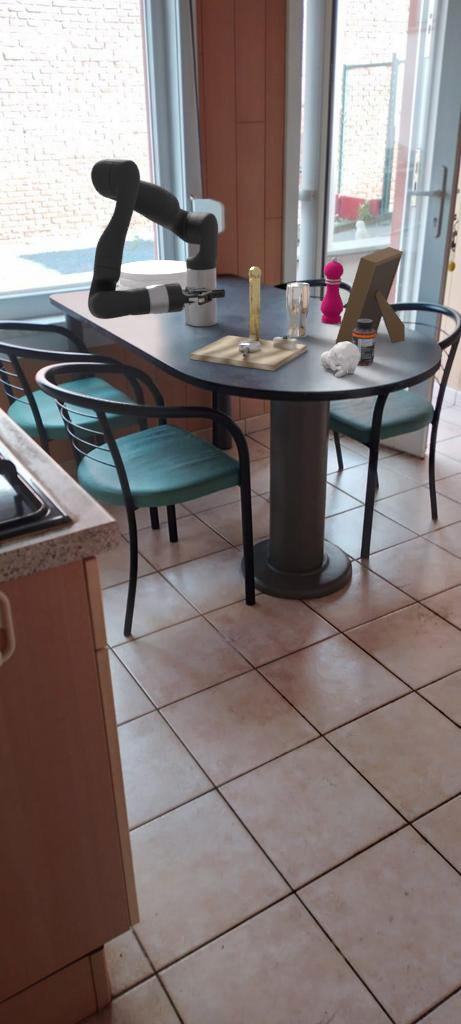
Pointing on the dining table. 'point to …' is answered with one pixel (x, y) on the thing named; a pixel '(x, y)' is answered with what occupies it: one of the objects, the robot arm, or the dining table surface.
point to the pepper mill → (332, 293)
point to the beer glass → (297, 308)
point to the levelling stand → (266, 358)
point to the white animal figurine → (341, 358)
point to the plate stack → (152, 274)
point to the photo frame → (373, 295)
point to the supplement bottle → (364, 340)
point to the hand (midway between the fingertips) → (223, 292)
